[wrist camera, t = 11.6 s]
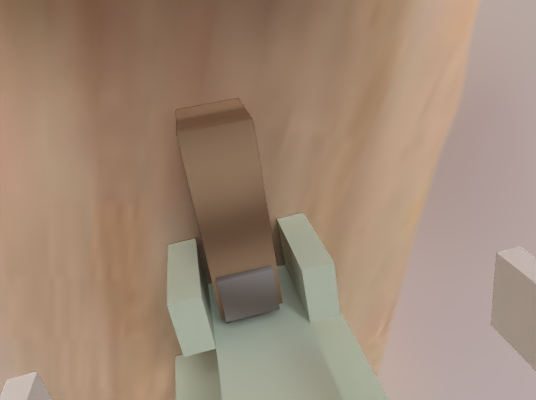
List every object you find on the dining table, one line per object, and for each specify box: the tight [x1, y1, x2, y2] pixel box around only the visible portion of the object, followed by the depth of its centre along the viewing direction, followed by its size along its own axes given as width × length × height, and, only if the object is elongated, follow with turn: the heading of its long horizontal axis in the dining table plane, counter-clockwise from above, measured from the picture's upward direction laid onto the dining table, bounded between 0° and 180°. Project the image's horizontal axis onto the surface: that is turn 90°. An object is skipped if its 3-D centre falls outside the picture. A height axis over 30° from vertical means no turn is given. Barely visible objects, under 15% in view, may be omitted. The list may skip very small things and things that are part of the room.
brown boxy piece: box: [176, 98, 283, 322], centre depth 28 cm, size 12×4×6 cm, turn 9°
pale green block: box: [167, 213, 389, 400], centre depth 28 cm, size 12×14×14 cm
